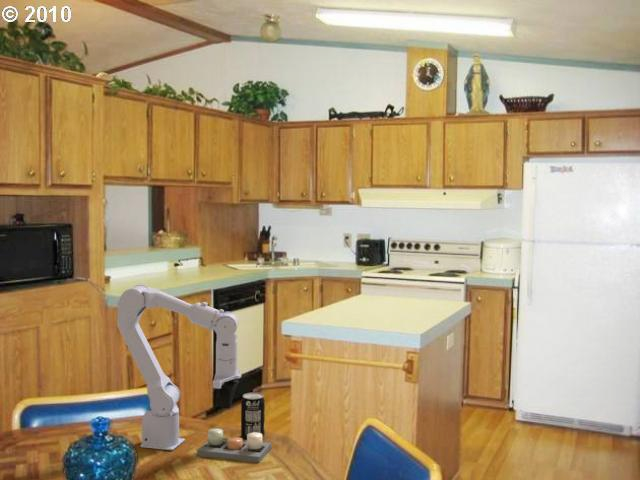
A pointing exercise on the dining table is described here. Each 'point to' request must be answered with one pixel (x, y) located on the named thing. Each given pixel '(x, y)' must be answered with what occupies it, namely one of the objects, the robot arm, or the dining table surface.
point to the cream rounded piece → (254, 440)
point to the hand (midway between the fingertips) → (226, 407)
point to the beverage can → (252, 414)
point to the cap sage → (215, 436)
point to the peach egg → (235, 443)
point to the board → (234, 452)
